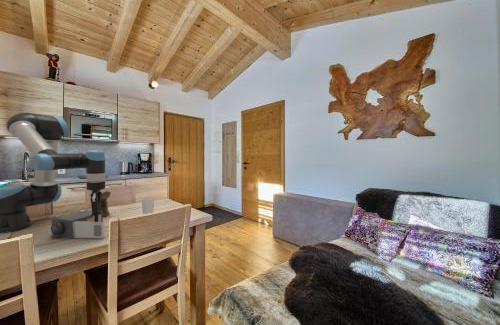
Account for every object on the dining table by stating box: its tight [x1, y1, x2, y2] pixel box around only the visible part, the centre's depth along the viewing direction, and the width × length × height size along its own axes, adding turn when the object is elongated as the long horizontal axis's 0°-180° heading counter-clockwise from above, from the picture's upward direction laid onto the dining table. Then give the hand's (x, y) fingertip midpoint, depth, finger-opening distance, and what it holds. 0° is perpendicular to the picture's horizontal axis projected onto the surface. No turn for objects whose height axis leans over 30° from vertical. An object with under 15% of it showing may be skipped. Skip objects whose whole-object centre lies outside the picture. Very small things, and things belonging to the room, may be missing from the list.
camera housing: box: [50, 208, 104, 239], centre depth 110 cm, size 14×19×10 cm
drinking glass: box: [141, 195, 155, 215], centre depth 128 cm, size 7×7×15 cm
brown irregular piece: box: [101, 190, 111, 218], centre depth 135 cm, size 9×14×18 cm, turn 57°
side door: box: [72, 221, 105, 239], centre depth 102 cm, size 2×15×8 cm, turn 90°
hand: (97, 227), depth 104 cm, fingers closed
